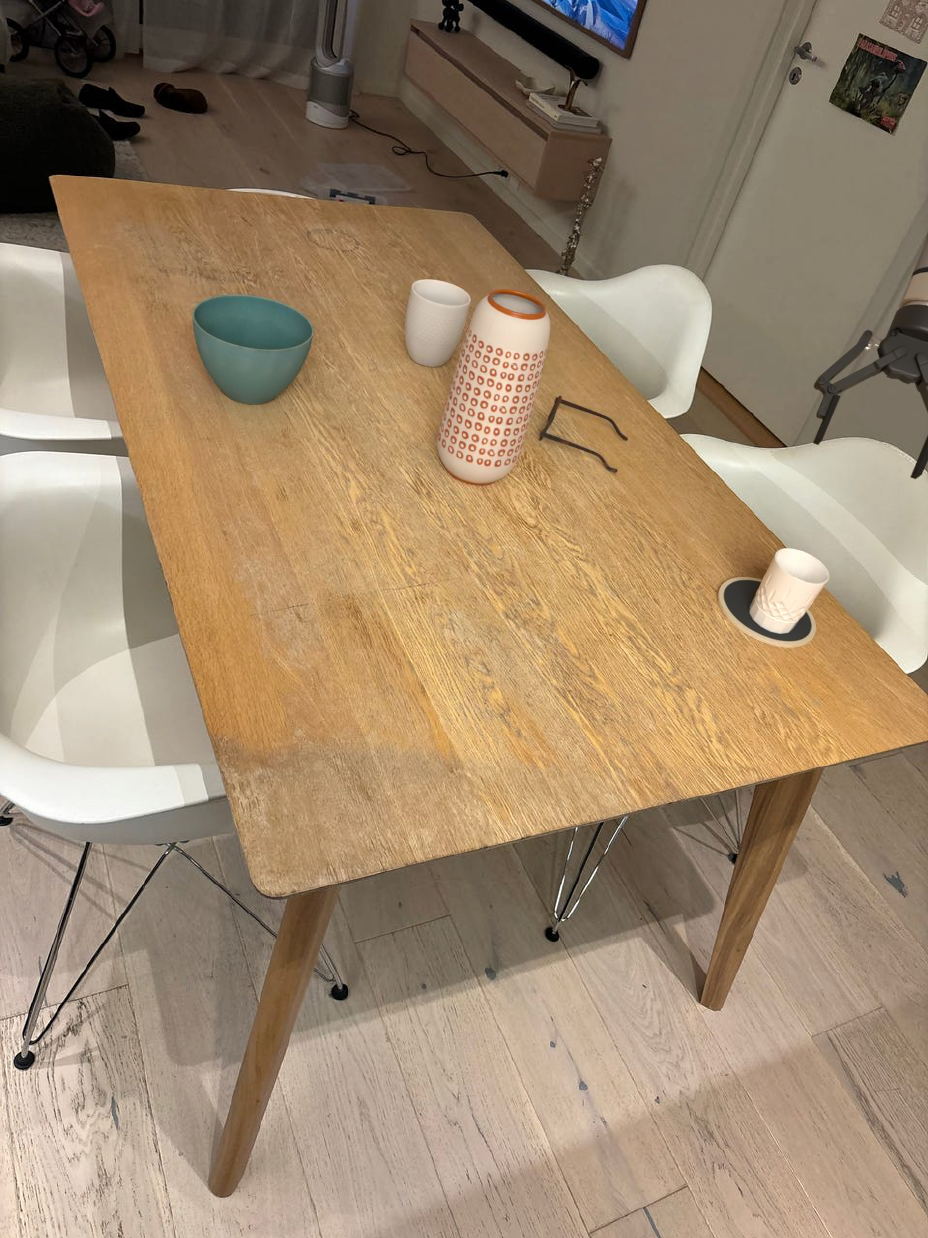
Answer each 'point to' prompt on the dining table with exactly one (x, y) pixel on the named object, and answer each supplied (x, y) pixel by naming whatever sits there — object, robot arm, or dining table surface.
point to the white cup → (787, 590)
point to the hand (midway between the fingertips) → (866, 458)
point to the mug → (435, 321)
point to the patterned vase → (494, 387)
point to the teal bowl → (251, 345)
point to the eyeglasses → (557, 439)
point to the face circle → (736, 608)
